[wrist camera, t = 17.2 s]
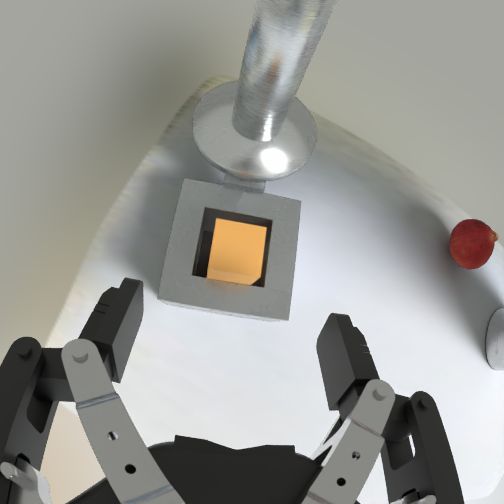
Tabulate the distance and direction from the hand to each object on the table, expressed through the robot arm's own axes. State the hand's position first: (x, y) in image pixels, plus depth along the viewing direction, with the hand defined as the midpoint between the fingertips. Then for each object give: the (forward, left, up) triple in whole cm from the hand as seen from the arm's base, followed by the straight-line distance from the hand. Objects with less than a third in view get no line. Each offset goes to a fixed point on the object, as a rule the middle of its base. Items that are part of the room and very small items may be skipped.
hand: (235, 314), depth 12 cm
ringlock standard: (0, -10, -13) cm, 17 cm away
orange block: (0, -4, -13) cm, 14 cm away
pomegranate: (-27, -11, -13) cm, 32 cm away
